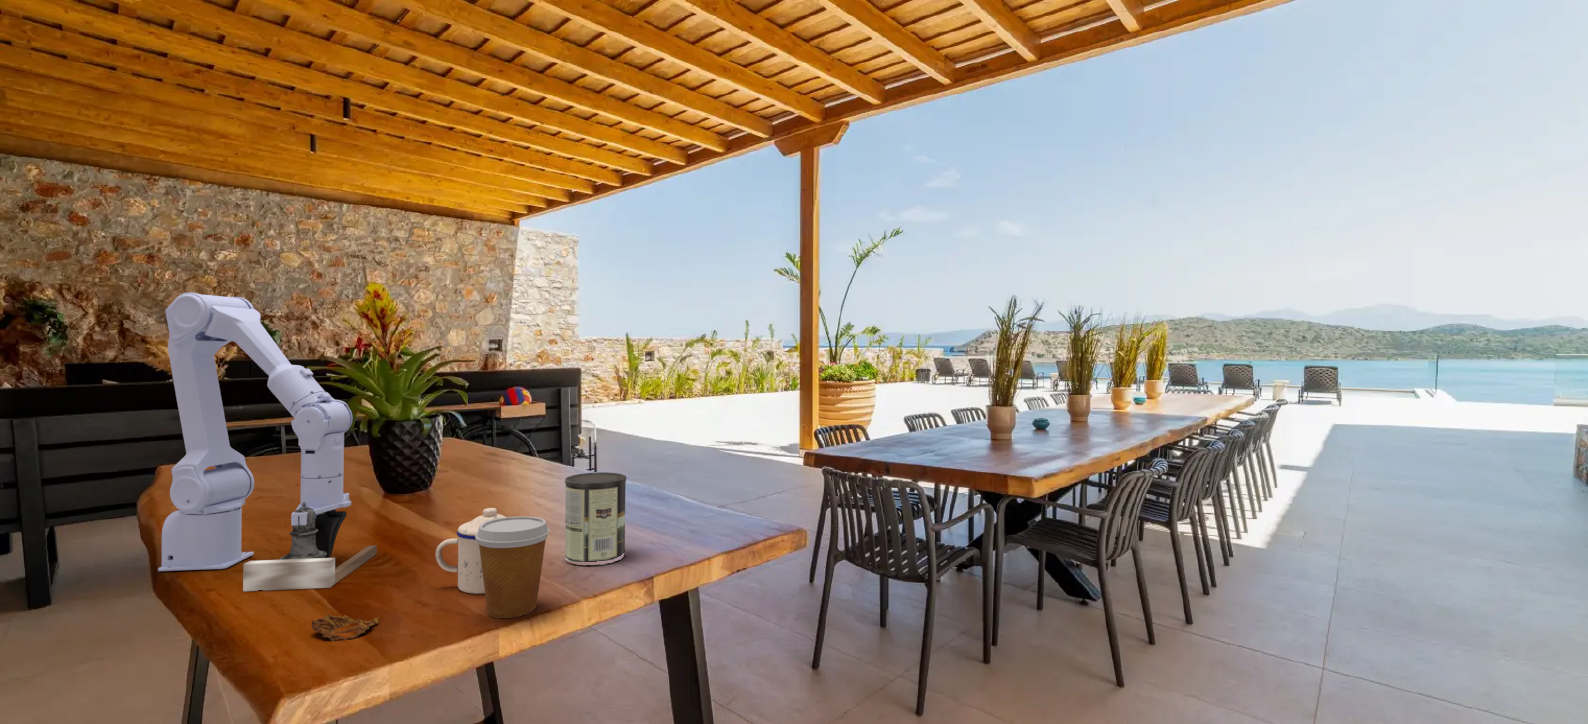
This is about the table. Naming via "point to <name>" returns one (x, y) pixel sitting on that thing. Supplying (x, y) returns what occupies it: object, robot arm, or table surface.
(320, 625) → the leaf
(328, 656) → the table surface
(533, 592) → the disposable coffee cup
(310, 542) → the grey stone finial
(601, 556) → the coffee can
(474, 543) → the teacup with lid
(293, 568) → the guide channel
